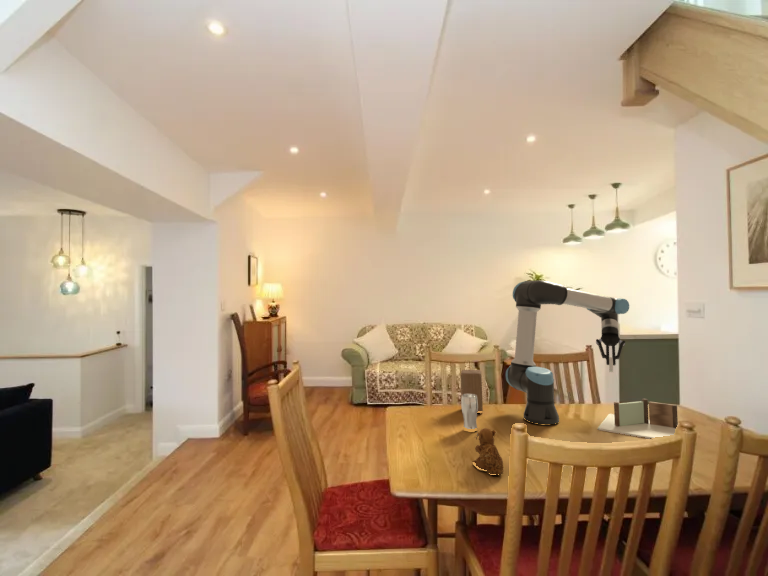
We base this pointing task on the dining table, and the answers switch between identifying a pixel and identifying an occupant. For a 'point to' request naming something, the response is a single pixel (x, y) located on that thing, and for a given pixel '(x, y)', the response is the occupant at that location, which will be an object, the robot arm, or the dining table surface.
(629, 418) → the green fence panel
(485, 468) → the brown plush animal
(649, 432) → the card
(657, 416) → the fixed fence
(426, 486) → the dining table surface
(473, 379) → the wooden block
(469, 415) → the beer glass
